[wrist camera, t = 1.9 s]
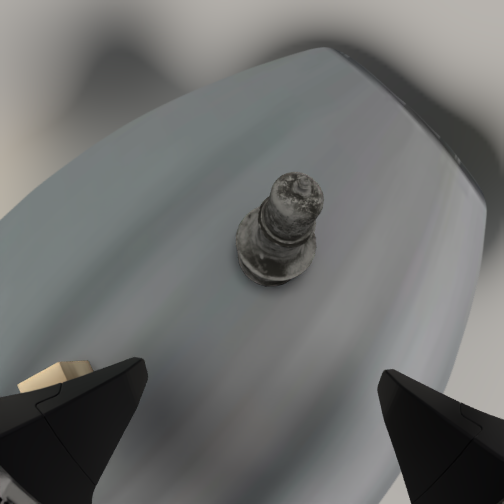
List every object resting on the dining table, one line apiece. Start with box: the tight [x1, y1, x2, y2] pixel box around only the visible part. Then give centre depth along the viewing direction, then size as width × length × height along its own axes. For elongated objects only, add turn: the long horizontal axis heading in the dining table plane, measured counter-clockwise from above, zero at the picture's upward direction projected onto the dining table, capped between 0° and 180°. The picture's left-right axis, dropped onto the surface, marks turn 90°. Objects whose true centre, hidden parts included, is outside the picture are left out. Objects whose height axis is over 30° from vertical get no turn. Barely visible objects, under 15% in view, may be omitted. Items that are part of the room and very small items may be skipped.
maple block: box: [18, 361, 93, 393], centre depth 17 cm, size 5×5×5 cm
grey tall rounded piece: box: [236, 172, 324, 286], centre depth 19 cm, size 6×6×12 cm
